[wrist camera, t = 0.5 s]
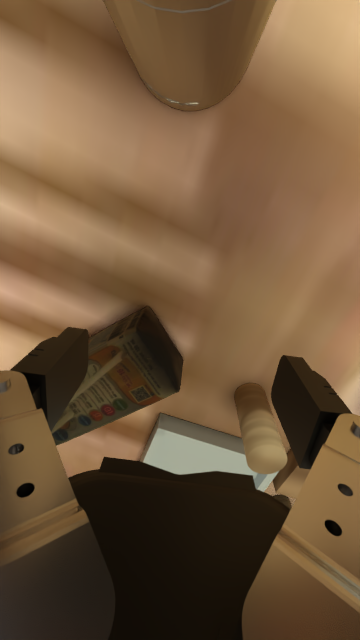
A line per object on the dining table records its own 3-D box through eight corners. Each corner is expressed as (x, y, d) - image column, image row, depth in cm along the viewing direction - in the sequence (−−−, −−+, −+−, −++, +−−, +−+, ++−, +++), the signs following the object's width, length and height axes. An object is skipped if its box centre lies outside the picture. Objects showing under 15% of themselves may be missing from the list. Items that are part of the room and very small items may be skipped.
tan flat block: (309, 420, 36) (319, 439, 33) (358, 437, 37) (371, 457, 34) (270, 471, 40) (275, 492, 37) (315, 486, 41) (323, 507, 38)
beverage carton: (16, 374, 35) (-21, 412, 29) (149, 299, 30) (138, 326, 24) (59, 419, 38) (33, 463, 32) (188, 357, 33) (186, 394, 27)
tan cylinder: (242, 379, 33) (257, 440, 25) (270, 388, 34) (294, 452, 26) (229, 402, 35) (239, 467, 27) (256, 411, 35) (275, 478, 27)
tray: (160, 412, 36) (158, 427, 34) (277, 449, 38) (282, 466, 35) (135, 470, 40) (131, 486, 38) (241, 500, 42) (243, 518, 40)
